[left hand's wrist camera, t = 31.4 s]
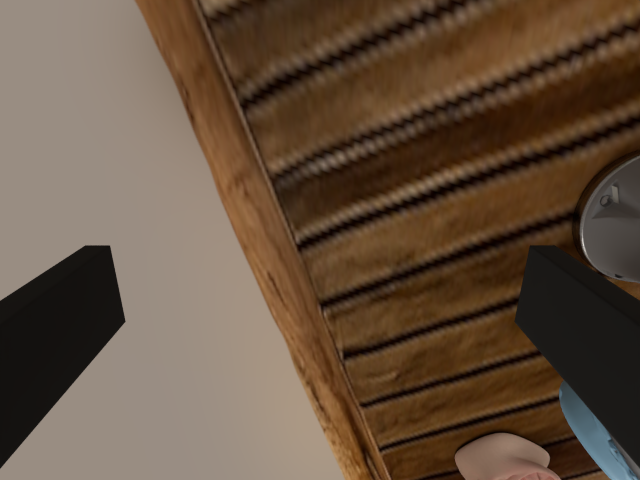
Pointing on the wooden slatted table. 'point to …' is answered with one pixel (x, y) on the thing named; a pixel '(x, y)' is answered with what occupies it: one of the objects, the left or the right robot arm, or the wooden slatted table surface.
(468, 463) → the anatomical model
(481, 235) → the wooden slatted table surface
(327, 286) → the wooden slatted table surface
